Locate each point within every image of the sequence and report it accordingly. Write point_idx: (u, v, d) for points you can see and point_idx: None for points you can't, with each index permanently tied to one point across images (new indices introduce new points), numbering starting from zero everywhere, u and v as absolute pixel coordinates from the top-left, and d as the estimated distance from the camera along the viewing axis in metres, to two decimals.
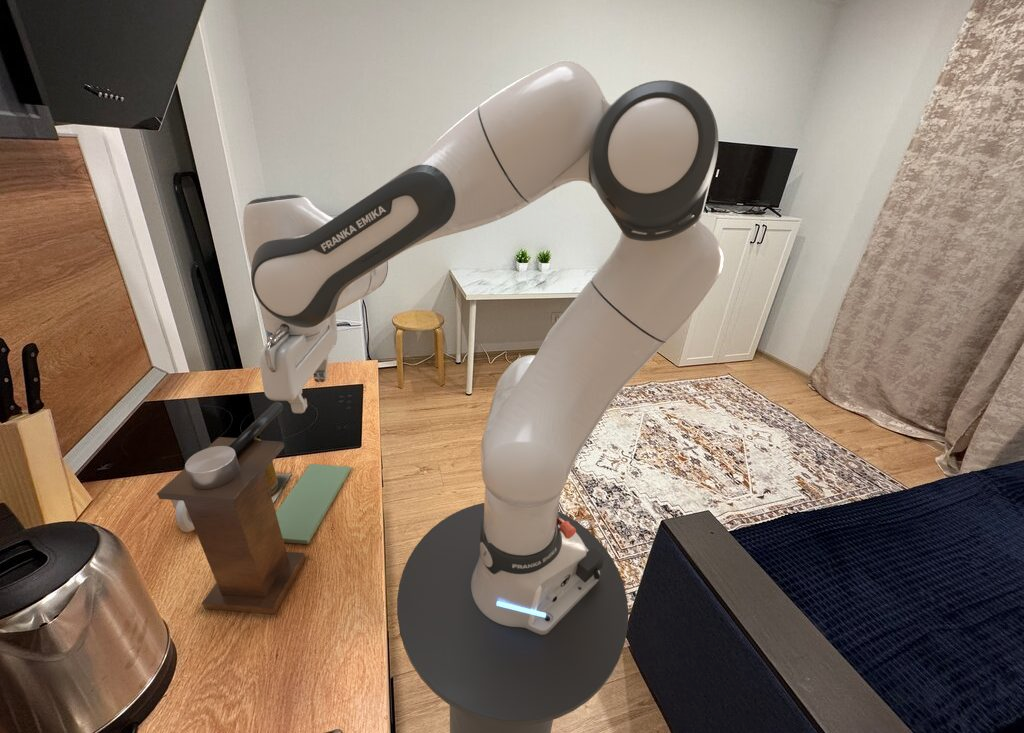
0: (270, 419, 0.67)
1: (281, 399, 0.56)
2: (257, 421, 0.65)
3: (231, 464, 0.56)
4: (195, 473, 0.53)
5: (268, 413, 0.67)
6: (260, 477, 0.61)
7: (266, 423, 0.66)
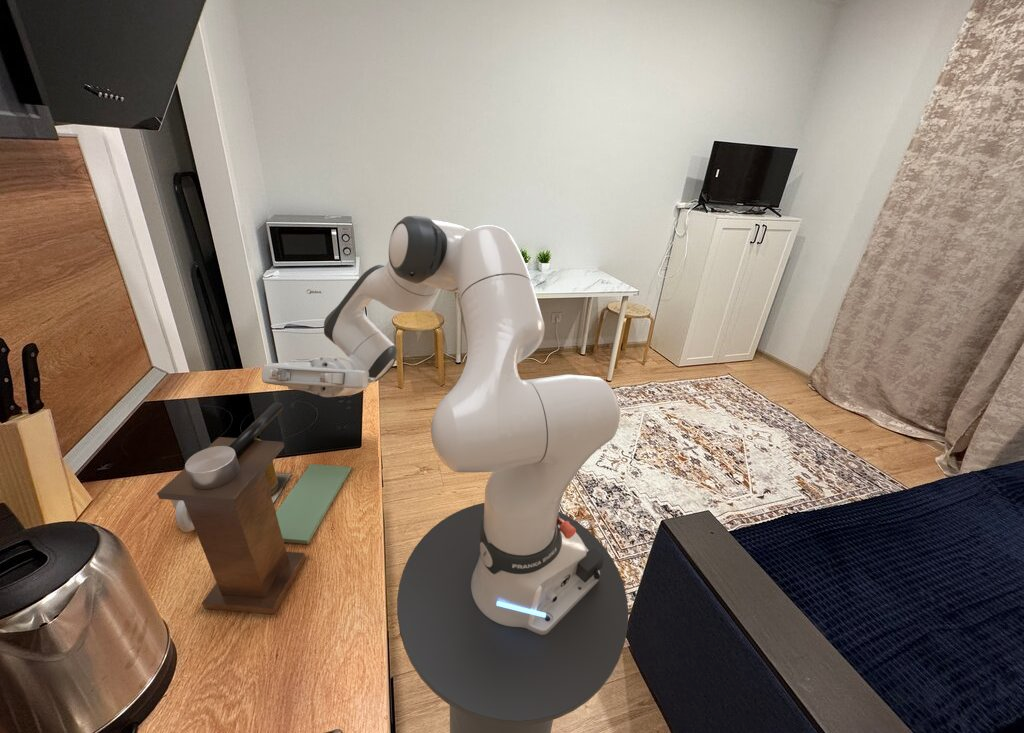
0: (270, 419, 0.67)
1: (361, 380, 0.82)
2: (257, 421, 0.65)
3: (231, 464, 0.56)
4: (195, 473, 0.53)
5: (268, 413, 0.67)
6: (260, 477, 0.61)
7: (266, 423, 0.66)
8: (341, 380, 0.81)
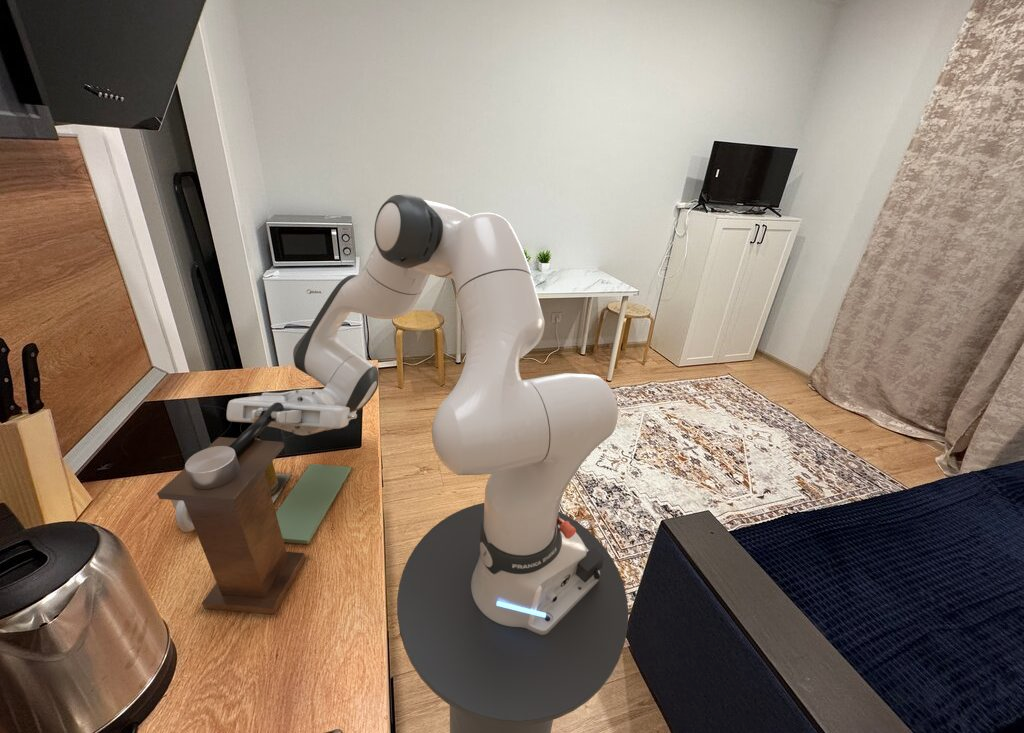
0: (270, 419, 0.67)
1: (339, 420, 0.72)
2: (258, 421, 0.65)
3: (231, 464, 0.56)
4: (195, 473, 0.53)
5: (268, 413, 0.67)
6: (260, 477, 0.61)
7: (266, 423, 0.66)
8: (298, 418, 0.71)
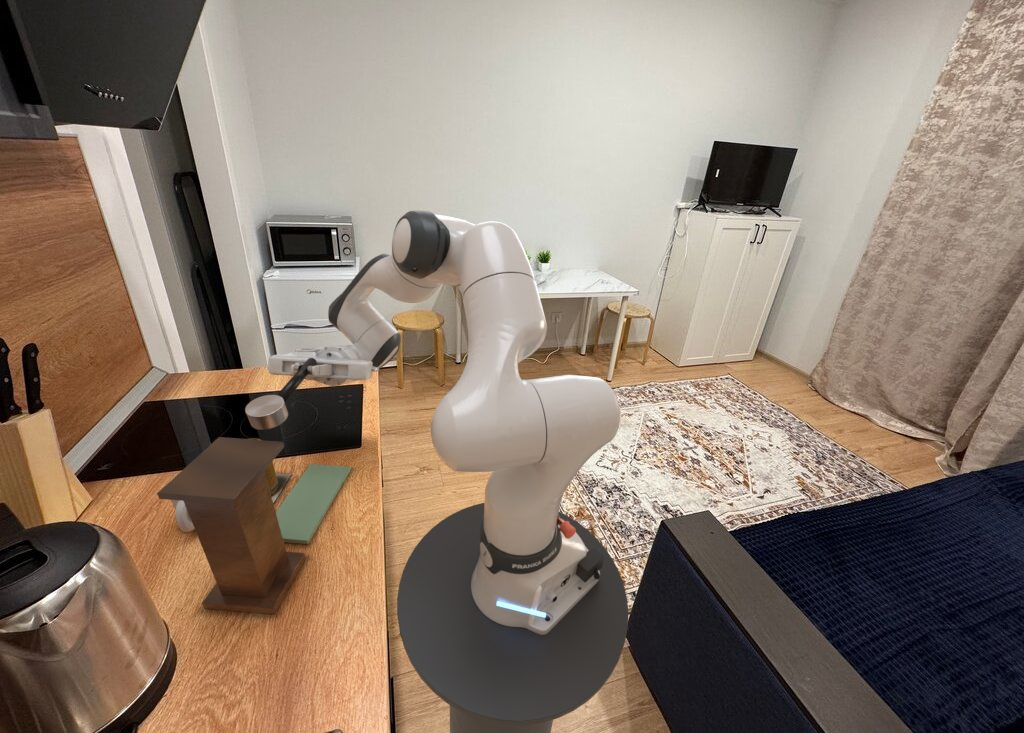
0: None
1: (364, 373, 0.83)
2: (297, 374, 0.76)
3: (282, 409, 0.68)
4: (254, 417, 0.65)
5: (305, 367, 0.79)
6: (260, 477, 0.61)
7: (304, 376, 0.78)
8: (329, 371, 0.82)
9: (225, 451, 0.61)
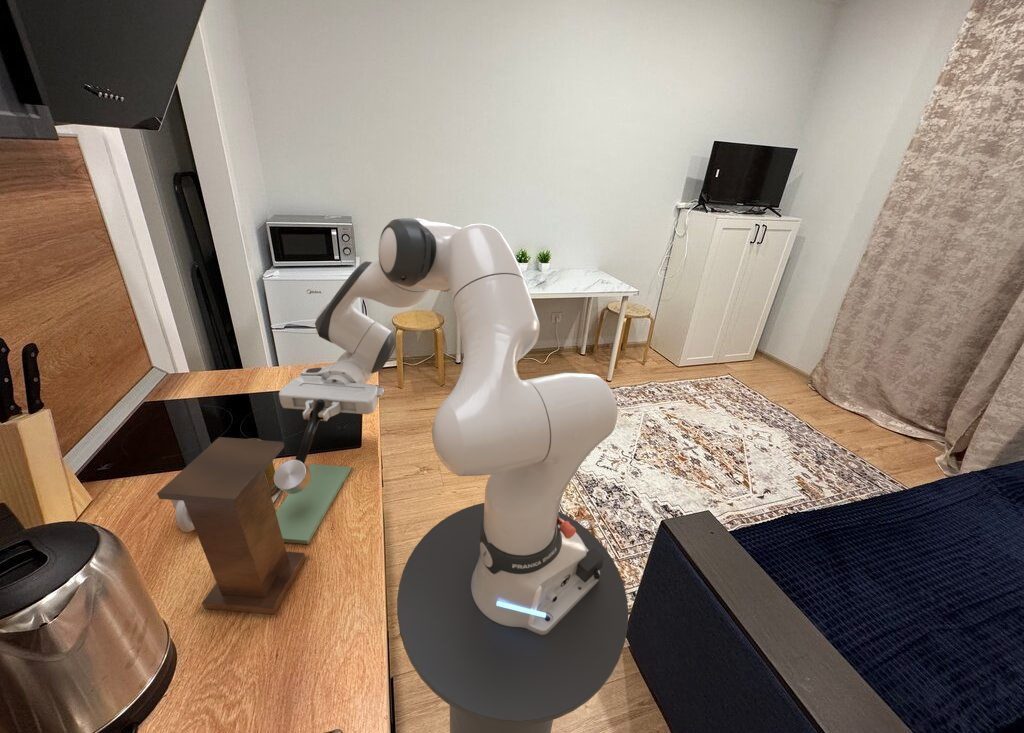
0: None
1: (371, 408, 0.89)
2: (310, 425, 0.82)
3: (305, 477, 0.76)
4: (284, 489, 0.75)
5: (316, 414, 0.84)
6: (260, 477, 0.61)
7: (317, 424, 0.84)
8: (339, 409, 0.87)
9: (225, 451, 0.61)
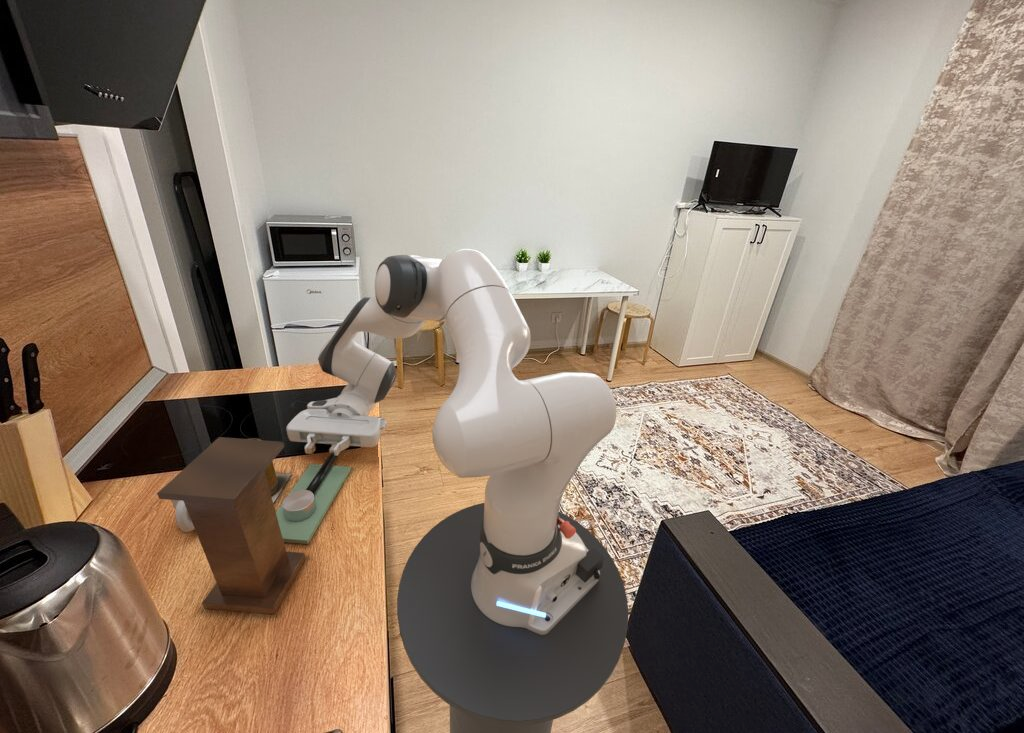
0: (330, 465, 0.92)
1: (375, 441, 0.92)
2: (323, 468, 0.89)
3: (312, 503, 0.80)
4: (290, 511, 0.77)
5: (329, 461, 0.92)
6: (260, 477, 0.61)
7: (328, 469, 0.90)
8: (348, 443, 0.91)
9: (225, 451, 0.61)
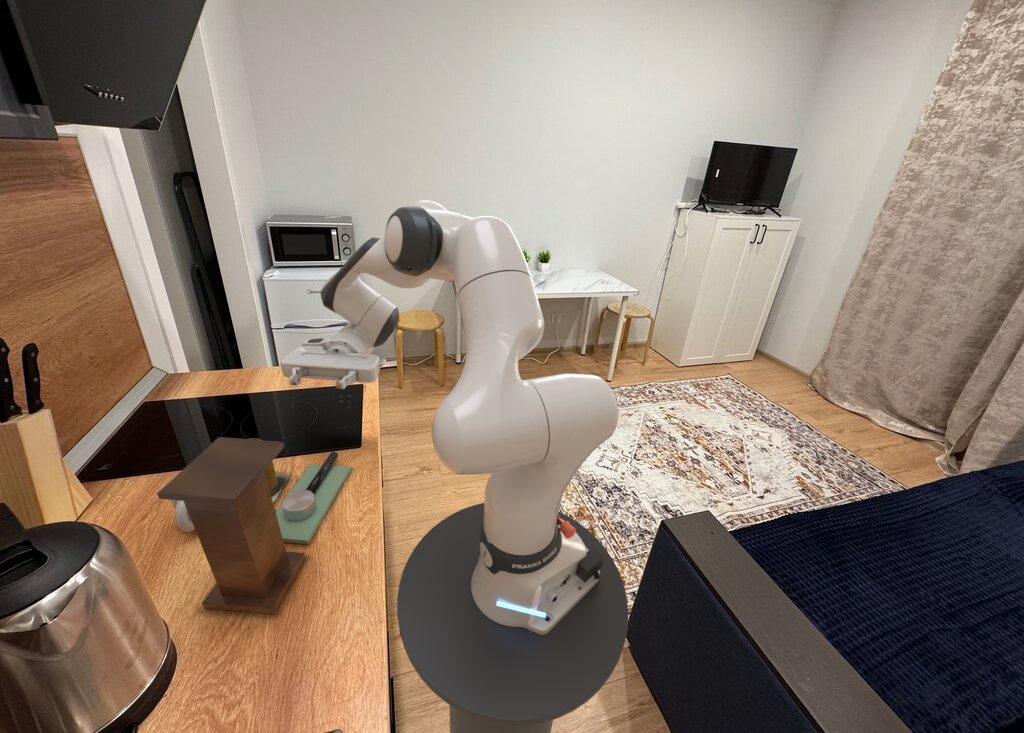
0: (330, 465, 0.92)
1: (373, 376, 0.88)
2: (323, 468, 0.89)
3: (312, 503, 0.80)
4: (290, 511, 0.77)
5: (329, 461, 0.92)
6: (260, 477, 0.61)
7: (328, 469, 0.90)
8: (355, 378, 0.87)
9: (225, 451, 0.61)
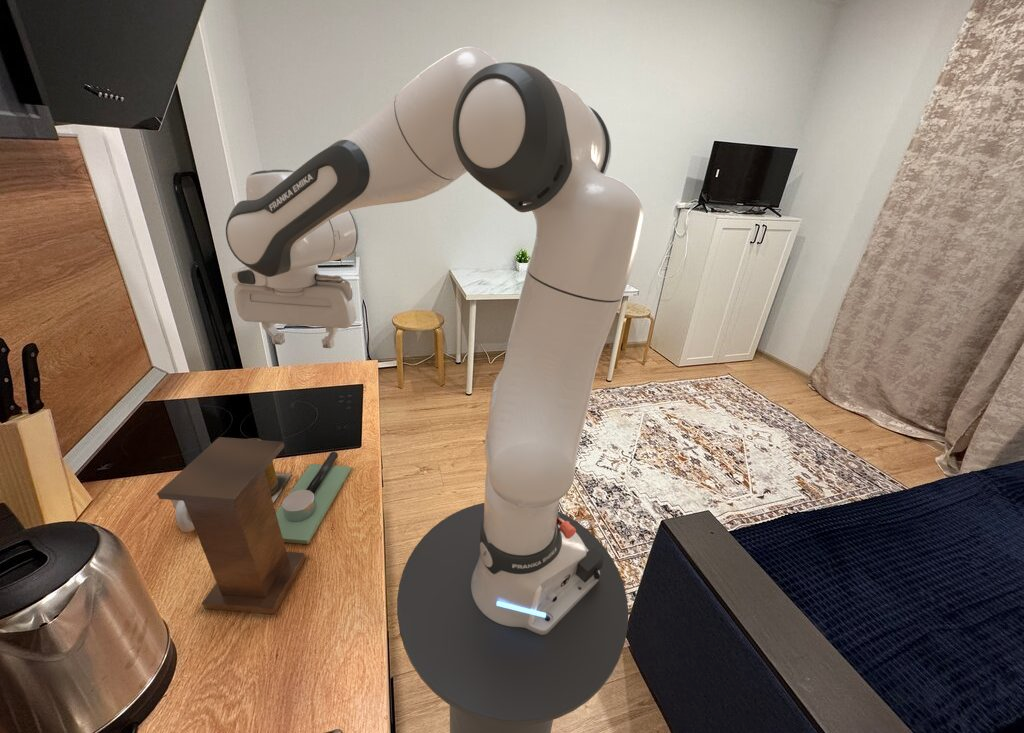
0: (330, 465, 0.92)
1: (353, 322, 0.76)
2: (323, 468, 0.89)
3: (312, 503, 0.80)
4: (290, 511, 0.77)
5: (329, 461, 0.92)
6: (260, 477, 0.61)
7: (328, 469, 0.90)
8: (336, 327, 0.77)
9: (225, 451, 0.61)
